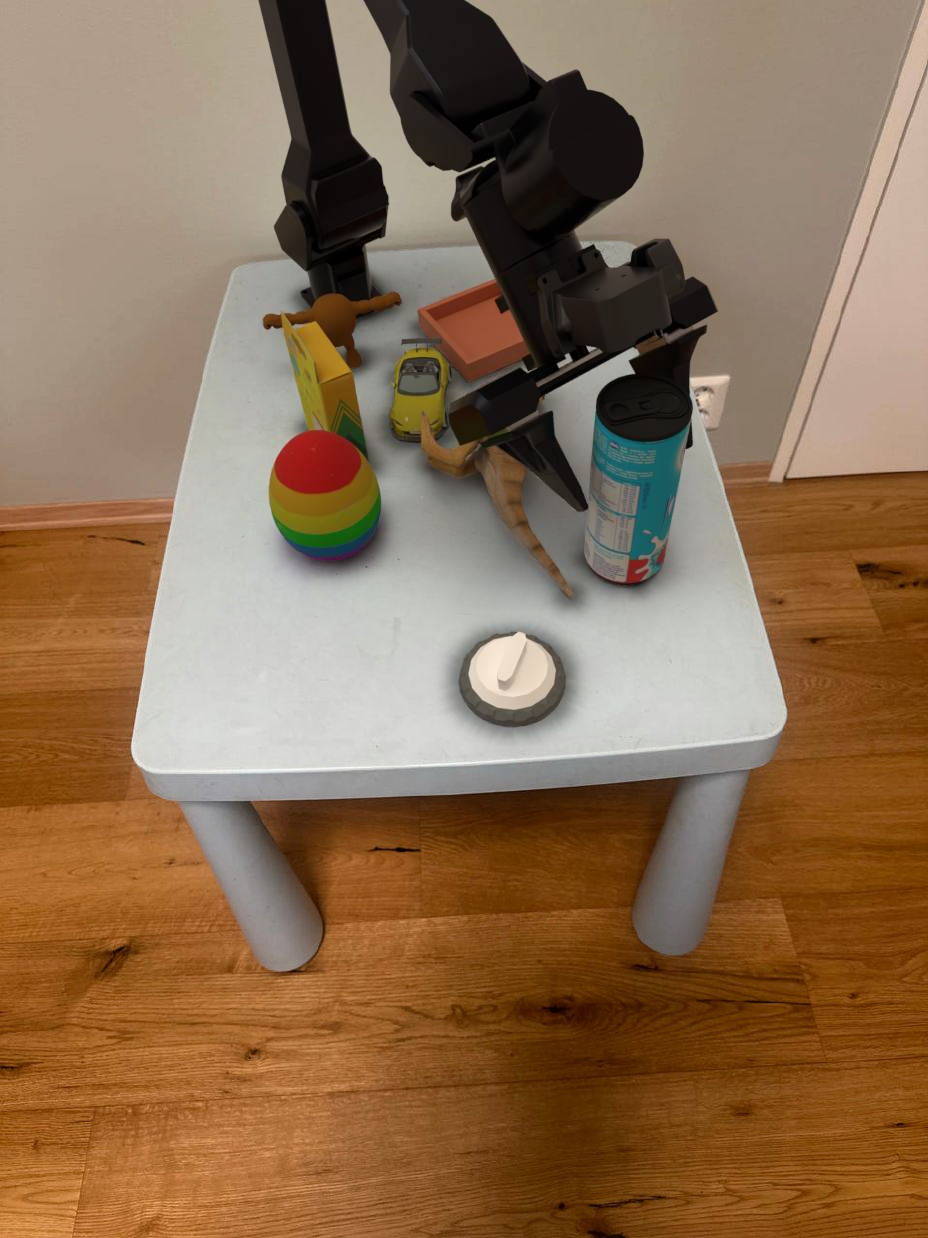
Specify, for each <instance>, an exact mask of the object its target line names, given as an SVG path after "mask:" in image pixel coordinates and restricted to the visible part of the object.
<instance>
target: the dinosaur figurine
mask: <svg viewBox="0 0 928 1238" xmlns="http://www.w3.org/2000/svg"><path fill="white" fill-rule="evenodd" d="M468 393H469V392H467V393H466V394H468ZM545 396H546V395H544V396H542V397H541V398H540V399H539V403H538V406H540V404H541V403H542V401H543V400H546V399H545ZM486 438H487V437H485V438H482V439H479V440H476V441H474V442H471V443H468V444H465V445H462V446H460V445H459V443H458V444H457V445H456V446H455V447H454V448H451V449H446V448H444V447H442V446H441V445H440V444H439V443H438V442H436V439H435V433H434V430H433V428H432V427H431V425H430V422H429V418H428V416H427V414H426V412H425V411H424V410H422V418H421V441H420V450H421V451H422V452H424V453H425V455H426V465H427V466H429V467H432V468H433V469H435V470H436V471H438V472H442V473H445V474H449V475H451V476H453V477H454V478H457V479H464V478H465V477H467V476H470V475H473V474H477V473H480V474H481V476H482V477H483V480H484V484H485V486H486V489H487V492H488V495H489V497H490V500H491V502H492V505H493V506H494V509H495V511H496V513H497V515H498V517H499V519H500V520H501V522H502V523H503V525H504V526H505V527H506V528H507V529H508V531H509V532H510V533H511V535H512V536H513V537H514V538H515V539H516V540H517V541H518V542H519V543H520V544H521V546H523V547H524V549H526V551H527V552H528V553H529V554H530V555H531V556H532V558H533V559H534V560H535V561H536V562H537V563H538V564H539V565H540V566H541V567H542V568H543V569H544V570H545V572H546V573H547V574H548V575H549V576H550V578H551V579H552V580H554V581H555V582H556V584H557V585H558V586H559V587H560V589H561V590H562V591H563V592H564V593H565V594H566V595H567V597H568V598H569V599H570V600H571V601H573V599H574V593H573V591H572V589H571V587H570V585H569V583H568V582H567V580H566V579H565V577H564V575H563V573H562V572H561V570H560V568H559V567H558V565H557V564H556V563H555V562H554V560H553V559H552V558H551V556H550V555H549V554H548V552H547V551H546V549H545V548H544V546H543V544H542V543H541V542H540V540H539V539H538V537H537V535H536V534H535V532H534V531H533V529H532V527H531V526H530V524H529V523H530V522H529V520H528V518H527V515H526V513H525V510H524V506H523V501H522V491H523V484H524V479H525V477H526V474H527V472H528V469H527V468H526V467H525V466H523V465H522V464H520V463H519V462H518V461H516V460H515V459H513V458H512V457H510V456H509V455H508V454H506V453H505V452H503V451H502V450H500V449H499V448H498V447H496V446H492V447H489V448H486V449H483V448H482V447H481V445H480V442H481V441H483V440H484V439H486ZM479 445H480V446H479Z"/></svg>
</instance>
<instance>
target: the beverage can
mask: <svg viewBox="0 0 928 1238" xmlns="http://www.w3.org/2000/svg"><path fill="white" fill-rule="evenodd" d="M693 411H694V404H693V400H692V398H691V395H690V396H689V394H688V392H687V391H686V390H685V389H684V388H683V387H682V386H681V385H679V384H678V383H676V382H675V381H673V380H671V379H669V378H666V377H663V376H660V375H655V374H648V373H636V374H635V373H630V374H625V375H621V376H619V377H617V378H614V379H612V380H611V381H609V382H608V383H606V384H605V385H604V386H603V387H602V388H601V389H600V390H599V393H598V394H597V397H596V401H595V412H594V422H593V425H594V426H593V434H592V443H591V445H592V446H591V456H590V457H591V458H590V468H589V469H590V470H589V482H588V495H587V496H588V497H587V503H588V507H589V508H588V510H586V521H585V533H584V546H583V552H584V558H585V560H586V563H587V565H588V567H589V569H590V570H591V571H592V572H593V574H595V575H596V576H597V577H598V578H599V579H601V580H603V581H604V582H607V583H608V584H609V583H610V584H612V585H618V586H634V585H638V584H639V585H640V584H641V583H644V582H646V581H648V580H650V579H651V578H652V577H653V576H655V575H656V573H657V572H659V570H660V569H661V567H662V565H663V563H664V561H665V557H666V550H667V545H668V541H669V536H670V530H671V525H672V520H673V515H674V510H675V506H676V501H677V495H678V490H679V486H680V481H681V480H680V479H681V474H682V470H683V466H684V465H683V464H684V459H685V455H686V450H687V449H686V444H687V439H688V433H689V428H690V422H691V419H692V417H693Z"/></svg>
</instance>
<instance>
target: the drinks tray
mask: <svg viewBox="0 0 928 1238" xmlns="http://www.w3.org/2000/svg"><path fill="white" fill-rule="evenodd" d="M495 279H496V278H495V277H494V278H493V279H490V280H487V281H485V282H482V283H480V284H477V285H475V286H472V287H469V288H467V289H465V290H462V291H460V292H457V293H455V294H452V295H450V296H448V297H445V298H442V299H439V300H437V301H434V302H432V303H429V304H427V305H425V306H422V307H420V308H418V309H417V319H418V328H419V329H420V330H421V331H422V332H423V333H424V334H425V335H426V336H427V338H441V337H442V345H441V344H434V345H435V347H436V348H437V350H438V351H439V352H440V353H442V354H443V356H444V357H445V359H447V360H448V361H449V363H450V364H452V366H453V367H454V369H456V371H458V372H459V373H460V375H462V377H463V378H464V379H465V380H466V381H467V382H468V383H470V382H473V381H475V380H477V379H479V378H482V377H484V376H487V375H489V374H491V373H493V372H496V371H498V370H500V369H502V368H505V367H508V366H510V365H512V364H514V363H517V362H519V361H523V360H522V357H524V356H526V355H528V354H530V352H529V350H528V348H527V346H526V344H525V342H524V340H523V337H522V335H521V333H520V331H519V329H518V327H517V325H516V323H515V320H514V318H513V316H512V314H511V312H510V310H509V311H507V312H505V313H503V314H501V313H500V311H499V309H498V307H497V305H496V303H495V301H494V300H495V299H497V298H498V297H499V296H501V295H502V293H501V290H500V288H499V286H498V284H497V282H496V280H495Z"/></svg>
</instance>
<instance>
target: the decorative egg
mask: <svg viewBox="0 0 928 1238" xmlns="http://www.w3.org/2000/svg"><path fill="white" fill-rule="evenodd" d="M269 475H270V476H269V481H268V482H269V483H268V502H269V507H270V513H271V515H272V519H273V522H274V524H275V526H276V528H277V530H278V531H279V533H280V535H281V536H282V537H283V539H284V540H285V541H286V542H287V543H288V545H290V546H291V547H292V548H293V549H294V550H296V551H297V552H298V553H300V554H302V555H304V556H306V557H308V558H310V559H313V560H317V561H323V562H324V561H325V562H335V561H341V560H345V559H347V558H350V557H352V556H354V555H355V554H358V553H359V552H360V551H361V550H362V549H364V548H365V546H367V545H368V543H369V542H370V541H371V539H372V538H373V536H374V534H375V532H376V530H377V528H378V526H379V523H380V518H381V514H382V495H381V490H380V484H379V482H378V478H377V476H376V473H375V471H374V469H373V467H372V465H371V464H370V461H369V462H368V461H367V459H366V458H365V456H364V455H363V454H362V453H361V452H360V451H359V450H358V448H356V447H355V446H354V445H353V444H352V443H351V442H349V441H348V440H346V439H345V438H343V437H341V436H339V435H337V434H335V433H332V432H329V431H325V430H310V431H309V430H306V431H303V432H301V433H298V434H296V435H294V436H293V437H292V438H291V439H290V440H288V442H287V443H286V444H285V445H284V446H283V447H282V448H281V449H280V451H279V453H278V454H277V456H276V458H275V461H274V462H273V465H272V468H271V471H270V474H269Z"/></svg>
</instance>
